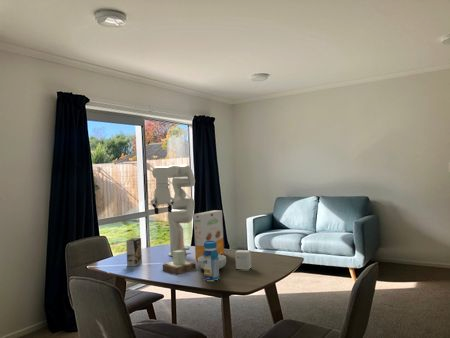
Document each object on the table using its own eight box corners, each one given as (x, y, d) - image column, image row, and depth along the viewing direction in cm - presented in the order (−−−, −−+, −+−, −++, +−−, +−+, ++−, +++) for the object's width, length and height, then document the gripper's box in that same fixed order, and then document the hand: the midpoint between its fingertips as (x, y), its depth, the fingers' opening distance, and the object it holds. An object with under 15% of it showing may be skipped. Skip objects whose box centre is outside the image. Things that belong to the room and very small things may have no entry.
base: (182, 265, 227) (181, 258, 227) (195, 269, 216) (195, 262, 216) (162, 270, 218) (162, 263, 218) (176, 274, 207) (175, 267, 207)
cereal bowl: (194, 268, 220) (194, 256, 220) (220, 264, 225) (220, 252, 225) (203, 275, 204) (202, 262, 204) (230, 271, 209) (230, 258, 210)
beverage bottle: (220, 281, 191) (218, 242, 191) (204, 282, 190) (202, 243, 190) (219, 276, 199) (217, 239, 199) (203, 277, 199) (201, 240, 199)
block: (180, 261, 221) (179, 249, 221) (185, 262, 217) (184, 250, 217) (173, 263, 217) (172, 251, 217) (178, 264, 214) (177, 252, 214)
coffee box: (136, 266, 230) (135, 240, 230) (126, 266, 231) (125, 240, 231) (142, 262, 239) (141, 237, 239) (133, 262, 240) (132, 237, 240)
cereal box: (216, 253, 257) (214, 210, 257) (223, 253, 253) (221, 210, 253) (195, 260, 239) (193, 214, 239) (203, 261, 235) (200, 214, 235)
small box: (251, 268, 213) (250, 250, 213) (249, 270, 208) (248, 252, 208) (238, 267, 216) (237, 249, 216) (235, 270, 211) (234, 251, 211)
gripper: (170, 185, 240) (171, 211, 240) (147, 187, 229) (148, 214, 229) (176, 185, 235) (178, 212, 235) (153, 187, 223) (154, 215, 223)
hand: (163, 213), depth 232 cm, fingers open, 9 cm apart
